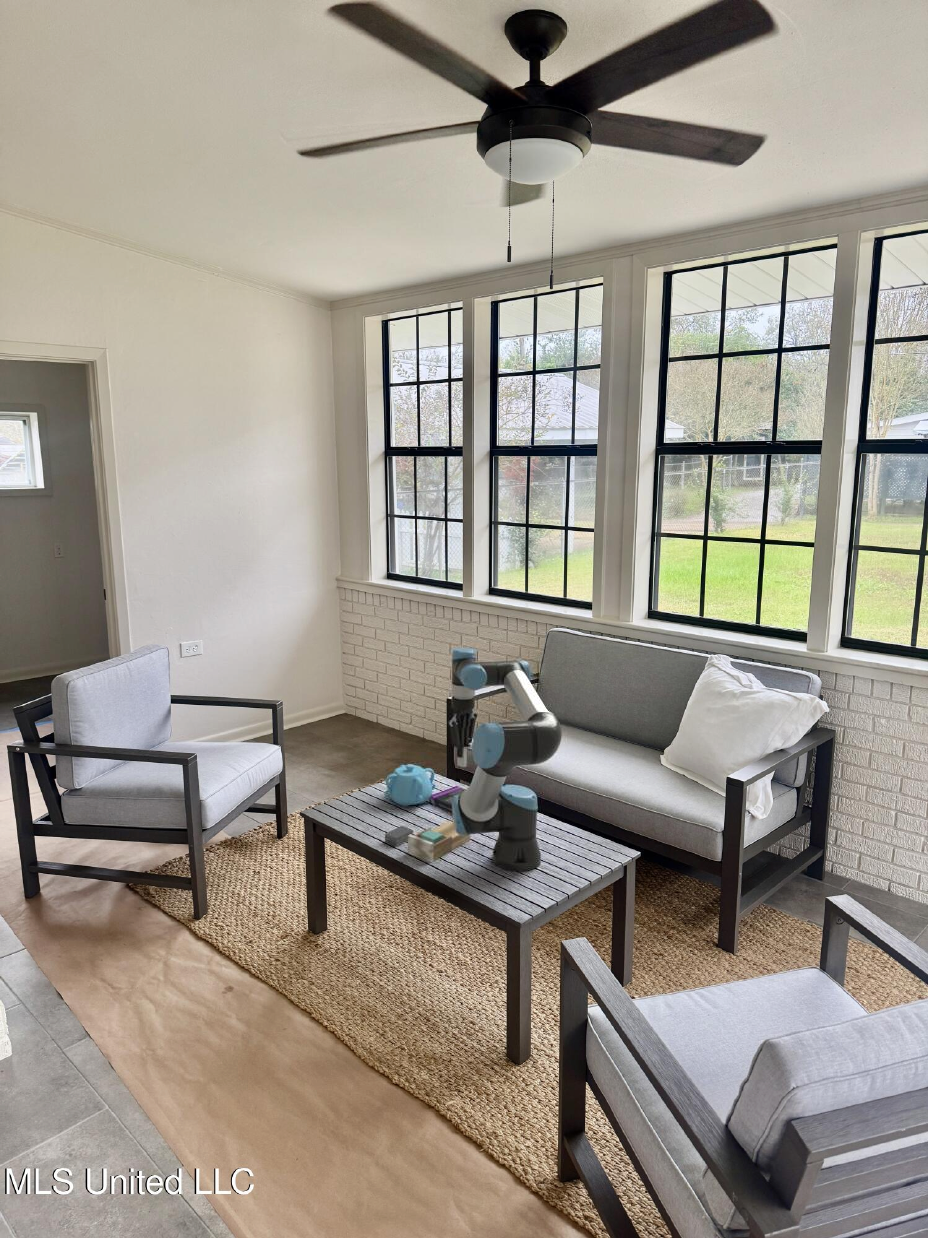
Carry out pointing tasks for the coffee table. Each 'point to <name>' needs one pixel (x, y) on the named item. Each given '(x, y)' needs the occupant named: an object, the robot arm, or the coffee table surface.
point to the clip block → (431, 836)
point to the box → (446, 798)
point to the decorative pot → (410, 785)
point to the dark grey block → (398, 836)
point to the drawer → (438, 849)
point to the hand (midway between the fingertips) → (461, 765)
